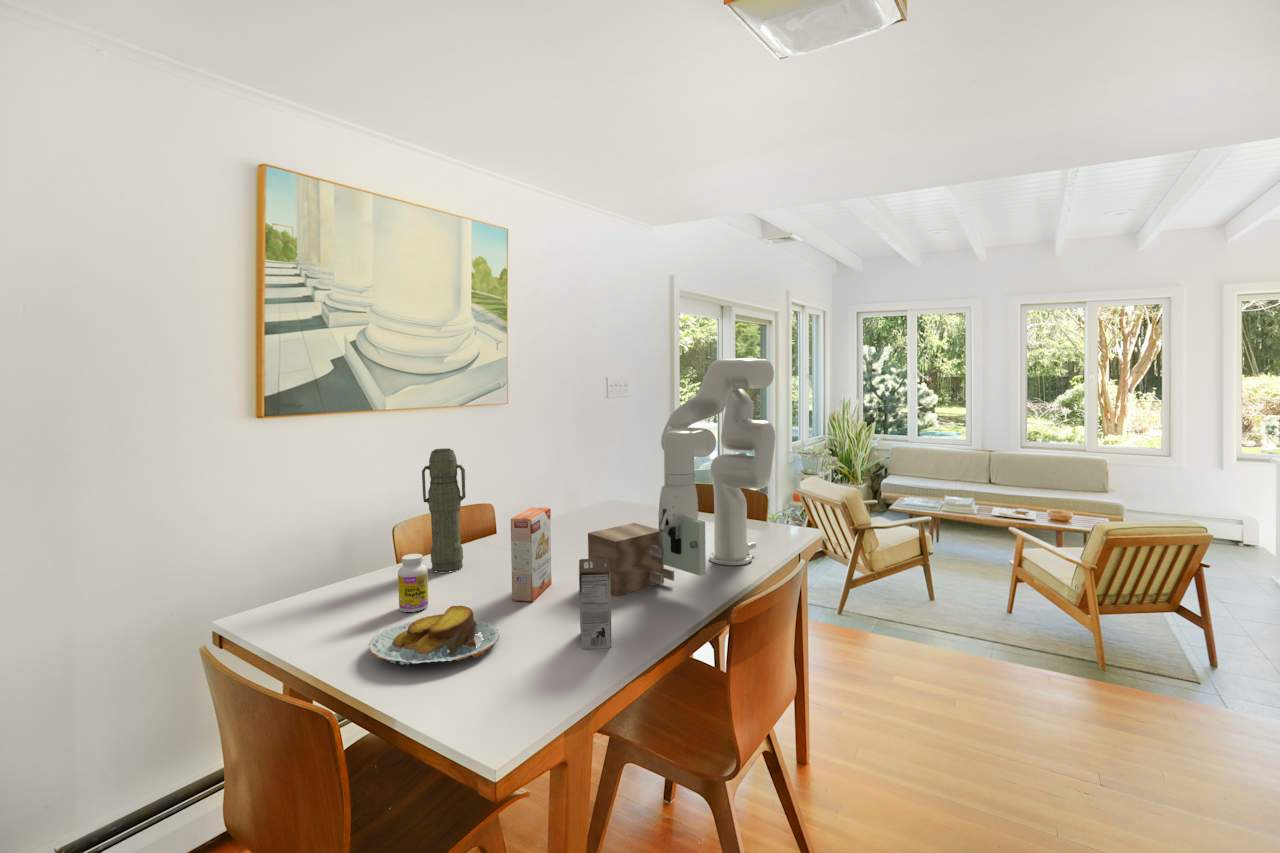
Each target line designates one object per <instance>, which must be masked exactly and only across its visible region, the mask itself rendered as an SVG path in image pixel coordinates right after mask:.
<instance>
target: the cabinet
mask: <svg viewBox="0 0 1280 853" xmlns="http://www.w3.org/2000/svg"><path fill="white" fill-rule="evenodd" d="M587 551H588V552H587V553H588V554H587V555H588V558H587V559H608V560H609V566H610V586H611V595H613V596H615V597H620V596H623V595H626V594H629V593H633V592H636V591H639V590H642V589H646V588H648V587H652V586H654V585H663V583H664V582H665V580H669V581H675V570H672V569H669V568H667V567H665V565H664V564H660V563H659V558H662V548H661V547H659V528H656V527H651V526H648V525H644V524H640V523H636V522H632V523H628V524H623V525H618V526H613V527H609V528H605V529H599V530H595V531H590V532H588V533H587Z"/></svg>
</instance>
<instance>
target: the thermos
mask: <svg viewBox="0 0 1280 853" xmlns="http://www.w3.org/2000/svg"><path fill="white" fill-rule="evenodd" d="M458 468H459V469H460V471H461V472H460V473H461V476H460V477H461V490H460V487H459V484H458V481H459V480H458V478H457V476H458ZM426 470H428V471H429V478H430V481H429V488H428V491H427V494H428V497H427V494H426V473H425V472H426ZM421 480H422V482H421V484H422V497H423V498H422V499H423V503H427V504H428V511H429V513H430V521H431V522H430V524H431V548H430V563H431V571H432V570H433V571H437V572H449V571H454V572H456V571H455V570H458V571H460V570H462V569H463V568H462V567H464V566H463V559H464V548H463V546H462V544H461V524H460V523H461V522H460V510H461V508H462V507H461V504H462V501H463V500H464V499H466V469H465V468H464V466H463V465H462V464H458V462H457V456H456V454H455V451H454V449H451V448H436V449H433V450H431V452H430V457H429V459H428V465H425V466H424V467H423V469H422V470H421ZM461 568H462V569H461ZM459 569H460V570H459ZM433 571H432V572H433ZM449 573H450V572H449Z"/></svg>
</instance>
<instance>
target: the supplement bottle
mask: <svg viewBox="0 0 1280 853" xmlns="http://www.w3.org/2000/svg"><path fill="white" fill-rule="evenodd" d="M423 558H424V557H423V554H421V553H410V554H409V553H408V554H406V555H403V556H402V557H401V564H402V566H401V567H400V568H399V569H398V570H397V584H398V585H397V586H398V587H397V588H398V607H399V610H400V611H401V612H402V611H405V612H413V613H415V612H414V611H419V612H421V611H420V610H422V611H423V609H424V610H426V609H427V608H428V606H429V586H428V585H429V584H428V583H429V581H428V568H427V566H426V565H425V564H423V560H424V559H423ZM426 607H427V608H426ZM425 608H426V609H425ZM405 612H404V613H405Z"/></svg>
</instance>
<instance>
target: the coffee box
mask: <svg viewBox="0 0 1280 853" xmlns="http://www.w3.org/2000/svg"><path fill="white" fill-rule="evenodd" d="M578 565H579V566H578V571H579V572H578V581H579V584H578V586H579V588H578V589H579V592H578V594H579V597H578V598H579V621H580V625H579V626H580V627H579V628H580V647H581V650H589V649H590V650H591V649H592V650H593V649H610V648H612V604H611V603H612V599H611V598H612V594H611V586H610V566H609V560H608V559H588V558H581V559H579V562H578Z"/></svg>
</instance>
